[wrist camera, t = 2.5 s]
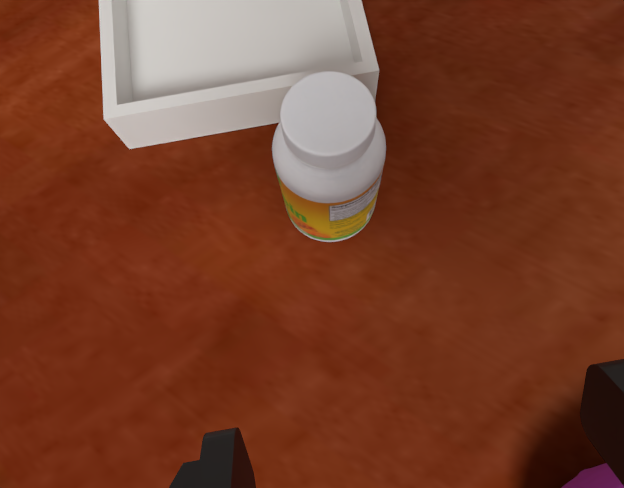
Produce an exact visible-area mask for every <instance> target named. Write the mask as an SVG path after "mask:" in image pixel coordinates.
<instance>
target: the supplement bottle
mask: <svg viewBox="0 0 624 488" xmlns="http://www.w3.org/2000/svg"><path fill="white" fill-rule="evenodd" d="M272 155H273V161H274V166H275V170H276V173H277V177H278V180H279V184H280V187H281V191H282V195H283V199H284V202H285V206H286V210H287V212H288V215H289V217H290V219H291V221H292V223H293V224H294V225H295V227H296V228H297V229H298V230H299V231H300V232H302V233H303V234H305V235H306V236H308V237H310V238H312V239H315V240H318V241H323V242H336V241H341V240H345V239H347V238H350V237H352V236H354V235H355V234H357V233H358V232H359V231H361V230H362V229H363V228H364V227H365V225H366V224H367V223H368V221H369V220H370V218H371V216H372V214H373V211H374V208H375V204H376V199H377V195H378V190H379V185H380V181H381V176H382V172H383V167H384V163H385V156H386V140H385V135H384V132H383V129H382V127H381V124H380V123H379V121H378V119H377V118H376V105H375V102H374V99H373V96H372V94H371V93H370V91H369V90H368V88H367V87H366V86H365V85H364V84H363V83H362V82H360V81H359V80H358V79H356V78H355V77H352V76H350V75H348V74H345V73H341V72H335V71H323V72H318V73H314V74H311V75H308V76H306V77H304V78H302V79H300V80H299V81H297V82H296V83H295V84H294V85H293V86H292V87H291V88H290V89H289V91H288V92H287V93H286V95H285V97H284V99H283V102H282V105H281V109H280V122H279V124H278V126H277V128H276V131H275V134H274V137H273V143H272Z"/></svg>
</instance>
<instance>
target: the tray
mask: <svg viewBox="0 0 624 488" xmlns="http://www.w3.org/2000/svg"><path fill="white" fill-rule="evenodd" d="M99 17H100V41H101V65H102V89H103V113H104V120H105V121H106V122H107V124H108V125H109V126H110V127H111V128H112V129H113V130H114V132H115V133H116V134H117V135H118V136H119V137H120V139H121V140H122V141H123V142H124V143H125V144H126V146H127V147H128V148H129V149H133V148H139V147H144V146H150V145H156V144H161V143H167V142H173V141H178V140H184V139H189V138H195V137H201V136H206V135H212V134H218V133H223V132H229V131H235V130H240V129H246V128H251V127H257V126H263V125H268V124H274V123H279V122H280V109H281V105H282V102H283V99H284V97H285V95H286V93H287V92H288V91H289V89H290V88H291V87H292V86H293V85H294V84H295V83H296V82H297V81H299V80H300V79H302V78H304V77H306V76H308V75H311V74H314V73H318V72H323V71H335V72H341V73H345V74H348V75H350V76H352V77H355V78H356V79H358V80H359V81H360V82H362V83H363V84H364V85H365V86H366V87H367V88H368V90H369V91H370V93H371V94H372V96H373V99H374V102H375V98H376V91H377V84H378V76H379V67H378V63H377V59H376V55H375V52H374V48H373V44H372V40H371V36H370V32H369V28H368V24H367V20H366V16H365V12H364V9H363V5H362V1H361V0H99Z"/></svg>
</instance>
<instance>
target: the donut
mask: <svg viewBox="0 0 624 488" xmlns="http://www.w3.org/2000/svg"><path fill="white" fill-rule="evenodd" d="M562 488H624V486H623V485H622V483H621V482H620V481H619V479H618V478H617V477H616V475H615V474H614V473H613V471H612V470H611V469H610V467H609V466H608V464H607V463H605V464H601V465H599V466H596V467H593V468H589V469H584V470H582V471H581V472H579V474H578V475H577V476H576V477H575V478H573V479H572V480H571V481H569V482H568V483H567V484H565V485H564V486H563V487H562Z"/></svg>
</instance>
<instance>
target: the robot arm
mask: <svg viewBox="0 0 624 488" xmlns="http://www.w3.org/2000/svg"><path fill="white" fill-rule="evenodd" d="M580 417H581V422H582V426H583V428H584V431H585V433H586V435H587V437H588V439H589V440H590V442H591V443H592V444H593V446H594V447H595V448H596V450H597V451H598V452H599V454H600V455H601V456H602V458H603V459H604V460H605V462H606V463H607V464H608V466H609V467H610V469H611V470H612V471H613V473H614V474H615V475H616V477H617V478H618V479H619V481H620V482H621V483H622V485H623V486H624V359H621V360H615V361H610V362H604V363H598V364H593V365H590V366H589V367H588V369H587V372H586V378H585V384H584V391H583V397H582V403H581V409H580ZM169 488H256V485H255V478H254V473H253V469H252V466H251V463H250V460H249V456H248V453H247V450H246V447H245V444H244V441H243V438H242V435H241V432H240V430H239V428H232V429H226V430H221V431H215V432H209V433H205V435H204V437H203V441H202V448H201V455H200V460H197V461H192V462H186V463H183V465H182V466H181V468H180V470H179V471H178V473H177V475H176V476H175V478H174V480H173V482H172V483H171V485H170V487H169Z"/></svg>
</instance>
